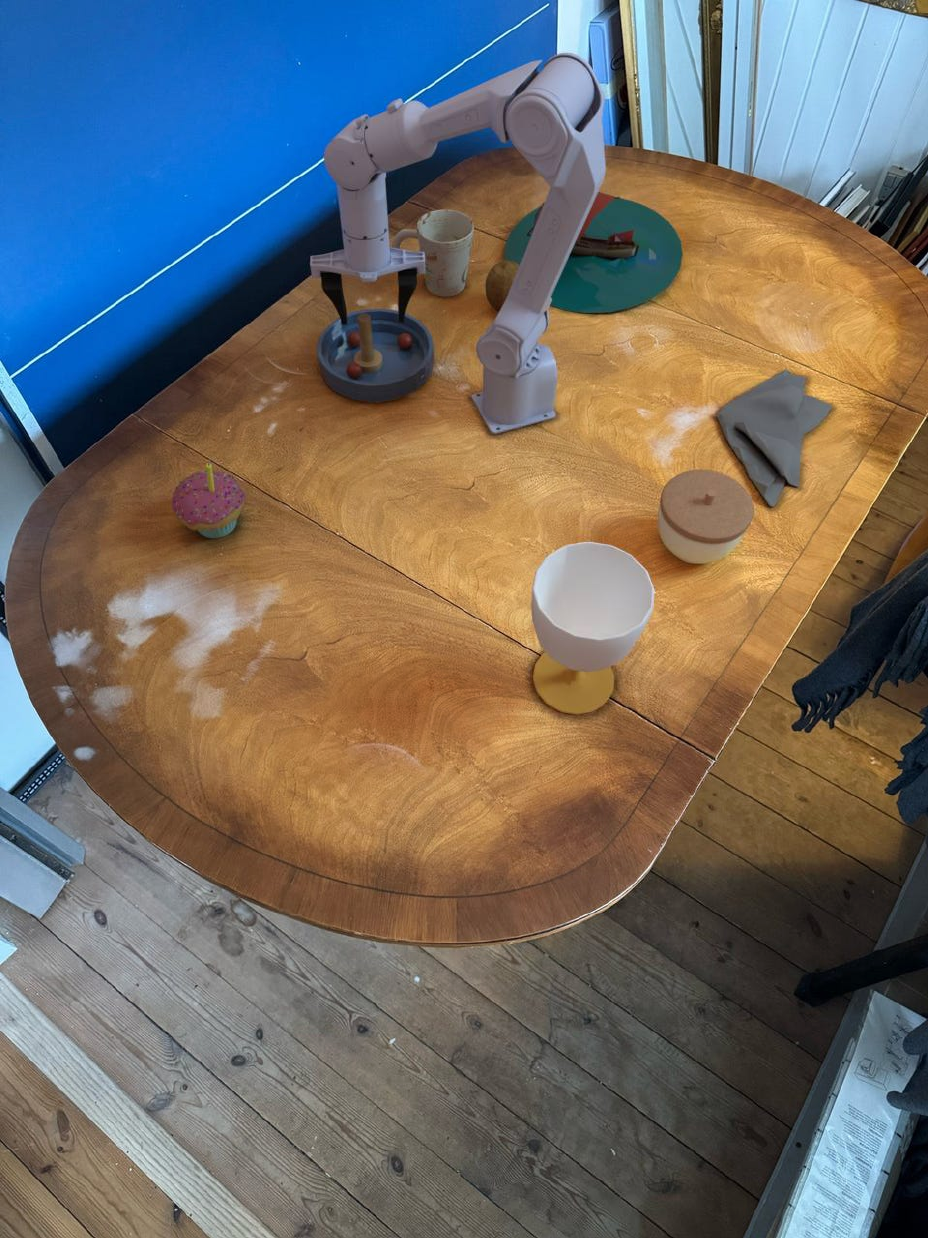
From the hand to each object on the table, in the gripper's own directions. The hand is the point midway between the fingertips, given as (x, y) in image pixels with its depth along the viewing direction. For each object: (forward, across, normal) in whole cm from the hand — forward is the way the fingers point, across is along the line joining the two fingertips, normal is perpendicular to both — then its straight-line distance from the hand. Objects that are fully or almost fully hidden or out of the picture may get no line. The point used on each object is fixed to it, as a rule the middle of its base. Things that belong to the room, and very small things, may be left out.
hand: (373, 318), depth 121 cm
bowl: (+8, 0, 0) cm, 8 cm away
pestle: (+7, -1, 0) cm, 8 cm away
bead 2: (+6, -3, -3) cm, 8 cm away
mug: (+8, +9, +18) cm, 22 cm away
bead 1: (+6, -3, +4) cm, 8 cm away
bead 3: (+6, +4, +3) cm, 8 cm away
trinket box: (+8, +38, -36) cm, 53 cm away
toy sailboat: (+8, +35, +23) cm, 43 cm away
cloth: (+8, +52, -17) cm, 56 cm away
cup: (+8, +20, -53) cm, 58 cm away
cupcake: (+8, -21, -28) cm, 36 cm away
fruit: (+8, +20, +11) cm, 24 cm away
